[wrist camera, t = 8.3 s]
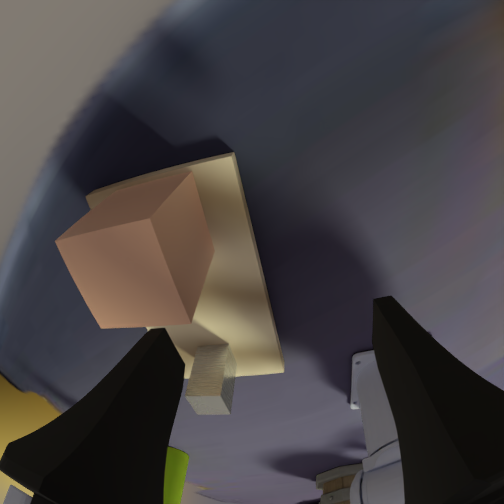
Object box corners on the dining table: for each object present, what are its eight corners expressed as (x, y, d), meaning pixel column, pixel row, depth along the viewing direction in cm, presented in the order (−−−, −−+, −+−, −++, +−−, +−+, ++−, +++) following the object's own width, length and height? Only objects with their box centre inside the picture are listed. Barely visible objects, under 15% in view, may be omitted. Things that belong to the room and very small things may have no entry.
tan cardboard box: (214, 250, 19) (191, 323, 13) (142, 262, 20) (101, 328, 14) (192, 171, 17) (149, 218, 11) (115, 190, 17) (55, 240, 12)
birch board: (284, 361, 26) (284, 372, 25) (179, 368, 27) (176, 378, 26) (234, 151, 17) (231, 156, 16) (94, 190, 19) (85, 196, 18)
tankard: (345, 485, 47) (349, 546, 34) (301, 479, 43) (301, 549, 30) (429, 448, 38) (443, 519, 25) (393, 440, 35) (407, 527, 22)
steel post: (237, 364, 24) (230, 414, 20) (207, 366, 25) (197, 414, 20) (228, 343, 23) (220, 395, 19) (197, 345, 24) (185, 396, 19)
